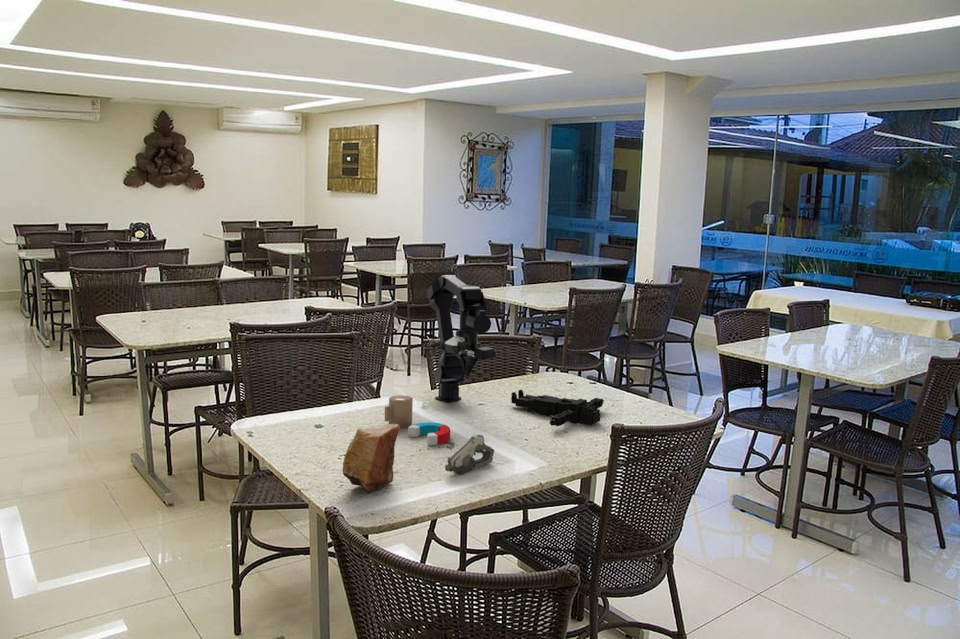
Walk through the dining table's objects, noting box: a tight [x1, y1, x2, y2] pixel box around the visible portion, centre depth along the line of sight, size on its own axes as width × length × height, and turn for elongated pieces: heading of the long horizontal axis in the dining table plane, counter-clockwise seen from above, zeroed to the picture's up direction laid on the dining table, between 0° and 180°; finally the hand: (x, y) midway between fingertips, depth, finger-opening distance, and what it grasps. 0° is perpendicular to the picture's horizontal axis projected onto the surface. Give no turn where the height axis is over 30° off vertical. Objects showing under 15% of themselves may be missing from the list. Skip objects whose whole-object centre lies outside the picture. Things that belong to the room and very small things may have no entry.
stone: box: [342, 423, 401, 493], centre depth 171 cm, size 14×9×15 cm, turn 130°
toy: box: [510, 389, 605, 427], centre depth 232 cm, size 31×6×30 cm
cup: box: [384, 394, 414, 429], centre depth 216 cm, size 7×9×8 cm
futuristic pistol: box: [444, 434, 495, 475], centre depth 185 cm, size 2×15×10 cm, turn 134°
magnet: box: [407, 421, 451, 446], centre depth 208 cm, size 12×3×10 cm
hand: (467, 375), depth 229 cm, fingers closed
